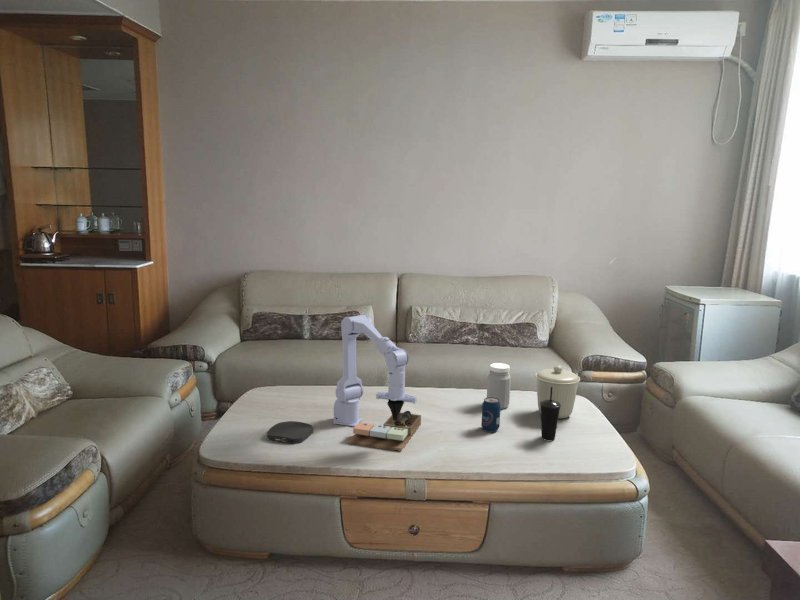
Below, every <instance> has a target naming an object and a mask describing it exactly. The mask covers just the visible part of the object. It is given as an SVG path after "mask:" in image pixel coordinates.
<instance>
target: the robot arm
mask: <svg viewBox="0 0 800 600" xmlns="http://www.w3.org/2000/svg"><path fill="white" fill-rule="evenodd" d="M340 324H341V327H340V328H341V338H342V344H341V345H342V377H341V378H340V379H339V380H338V381H337V382H336V388H335V397H336V400H334V404H333V422H332V423H333V424H335V425H341V426H342V425H343V426H348V427H355V426H356V425H357V424H358V423H359V422H360V423H361V422H362V421H363V418H362V417H359V416H360V415H359V411H360V410H359V406H360V405H359V404H360V403H359V402H360V401H361V398H362V397H363V396H364V395H363V394H364V388H363V385H362V383H363V380H362V379H361V378H360V377H358V376H357V375H358V374H357V367H358V366H357V337H359V335H361V334H364V336H366V337H367V338H368V339H370V340H371V341H372V342H373V343H374V344H375V349H376V350H377V351H378V352H379V354H380V355H382V356H383V358H384V360H385V364H386V368H387V371H388V388H387V389H388V392H387V391H385V392H383V391H382V392H381V391H378V392H377V393H376V395H375V399H376V400H379V399H381V400H387V404H386V405H387V406H388V407H389V409H390V413H391V415H392V416H393V421H397V420H398V419H399V414H400V412H401V411H402V408H403V405H405V403H412V404H414V405H415V404H416V403H417V402H418V401H417V400H418V399H417V396H413V395H410V394H406V393H405V388H406V387H405V384H406V381H405V380H406V365H408V363H409V360H410V359H409V358H410V357H409V356H410V355H409V353H408V352H407V351H406V349H404V348H400V347H397V345H396V344H395V343H394V342H393V341H392V340H390V337H387V336H382V335H381V333H380V332H379V331H378V330H377V329H376V327H375V325H373V320H372V317H369V315H368V314H366V313H365V314H360V315H354V316H353V315H352V316H345V317H344V318H343V319H342V320H341V322H340Z"/></svg>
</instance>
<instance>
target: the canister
mask: <svg viewBox="0 0 800 600" xmlns="http://www.w3.org/2000/svg"><path fill="white" fill-rule="evenodd" d="M534 377H535V378H536V395H537V408H538V411H539V412H540V414H541V405H540V402H541V401H544V400H550V390H551V387H553V389H552V400H555V401H557V402H559V403H560V404H561V407H560V411H559V417H558V420H560V419H566V418H569V417H570V416H571V415H572V413H573V411H574V406H575V402H576V396H577V391H578V387H579V383H580V382H581V377H580V376H579V375H577V374H576V373H574V372H572V371H569V370H566V369H563V367H562V365H555V366H553V368H544V369H541V370H539V371H537V372H536V373H535V374H534Z"/></svg>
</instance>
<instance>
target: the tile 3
mask: <svg viewBox="0 0 800 600" xmlns="http://www.w3.org/2000/svg"><path fill="white" fill-rule="evenodd" d="M407 434H408V429H403V428H396V427H392V428H391V429H390V430H389V431H388V432H387V438H388V439H394V440H401V441H403V440H404V438H405V437H406V436H407Z"/></svg>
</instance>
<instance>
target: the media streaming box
mask: <svg viewBox="0 0 800 600" xmlns="http://www.w3.org/2000/svg"><path fill="white" fill-rule="evenodd" d="M313 433H314V426H313V425H312V424H311V423H310V424H309V423H307V422H303V421H296V420H295V421H294V420H293V421H291V420H290V421H289V420H287V421H283V422H278V423H276V424H274V425H272V426H271V427H270V428H269V429H267V432H266V435H267V436H266V438H268V439H269V440H268V439H267V440H268V441H270V440H272V441H271V442H275V441H277V442H276V443H283V444H284V443H285V444H291V445H292V444H293V445H296V444H301V443H304V442H305V441H306V440H307V439H309V437H311V435H312V434H313Z"/></svg>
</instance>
